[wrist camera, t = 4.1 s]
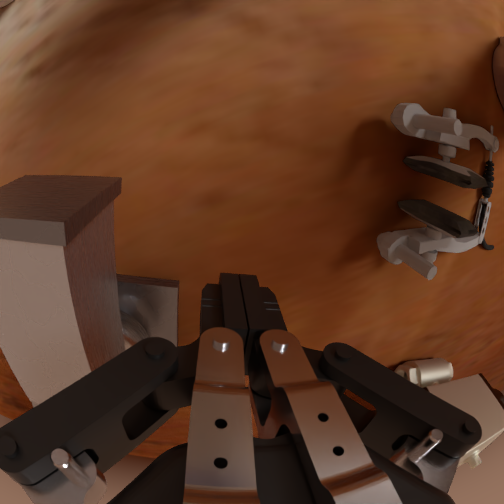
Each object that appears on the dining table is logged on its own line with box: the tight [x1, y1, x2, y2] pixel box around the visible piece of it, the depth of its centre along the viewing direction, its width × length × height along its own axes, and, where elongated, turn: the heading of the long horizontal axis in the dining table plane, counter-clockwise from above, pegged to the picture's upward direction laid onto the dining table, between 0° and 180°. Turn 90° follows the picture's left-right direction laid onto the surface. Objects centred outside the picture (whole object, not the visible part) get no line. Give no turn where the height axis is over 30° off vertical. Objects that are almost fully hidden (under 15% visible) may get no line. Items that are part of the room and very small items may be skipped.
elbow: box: [0, 175, 126, 407], centre depth 13 cm, size 19×8×6 cm, turn 171°
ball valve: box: [394, 358, 504, 469], centre depth 24 cm, size 18×8×18 cm, turn 76°
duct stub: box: [116, 274, 179, 350], centre depth 21 cm, size 12×12×5 cm
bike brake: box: [377, 103, 499, 280], centre depth 19 cm, size 14×7×20 cm
